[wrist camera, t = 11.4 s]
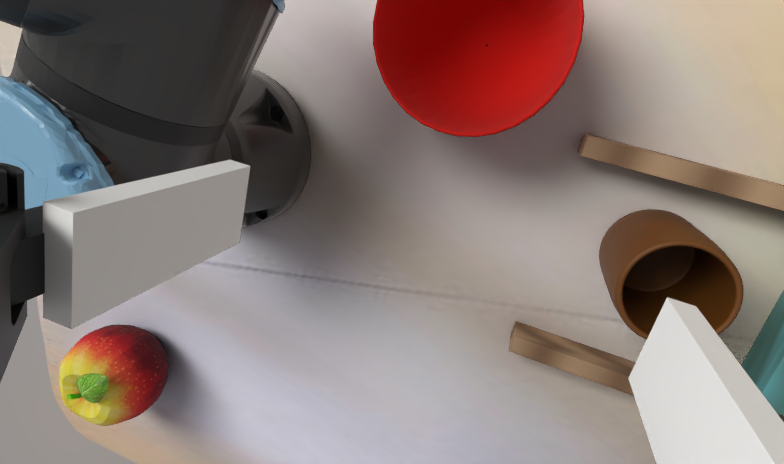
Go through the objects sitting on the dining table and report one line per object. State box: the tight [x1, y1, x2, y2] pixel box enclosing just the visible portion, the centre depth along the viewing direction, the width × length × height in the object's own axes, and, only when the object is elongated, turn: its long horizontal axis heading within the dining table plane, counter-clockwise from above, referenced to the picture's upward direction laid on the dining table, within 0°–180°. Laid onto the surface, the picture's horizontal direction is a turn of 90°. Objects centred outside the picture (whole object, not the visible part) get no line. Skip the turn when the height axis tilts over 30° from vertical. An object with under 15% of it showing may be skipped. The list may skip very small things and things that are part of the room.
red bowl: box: [373, 0, 584, 137], centre depth 34 cm, size 13×17×10 cm
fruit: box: [59, 325, 168, 426], centre depth 54 cm, size 11×11×10 cm
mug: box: [599, 210, 743, 340], centre depth 36 cm, size 12×8×9 cm, turn 14°
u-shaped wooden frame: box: [509, 133, 784, 415], centre depth 38 cm, size 20×19×4 cm
